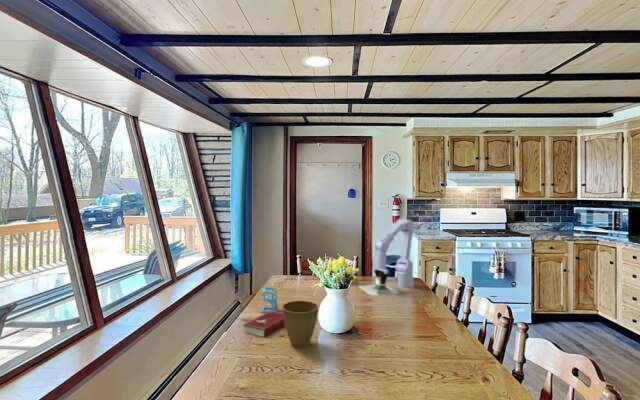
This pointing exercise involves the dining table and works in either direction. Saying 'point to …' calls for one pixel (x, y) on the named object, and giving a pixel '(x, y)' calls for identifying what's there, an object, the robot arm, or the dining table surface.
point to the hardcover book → (265, 323)
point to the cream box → (378, 281)
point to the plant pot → (300, 321)
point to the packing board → (372, 291)
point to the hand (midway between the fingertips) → (381, 283)
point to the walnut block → (380, 287)
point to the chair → (270, 300)
